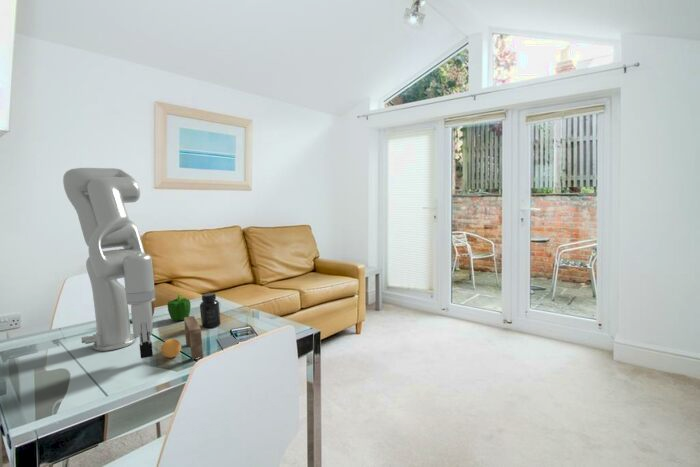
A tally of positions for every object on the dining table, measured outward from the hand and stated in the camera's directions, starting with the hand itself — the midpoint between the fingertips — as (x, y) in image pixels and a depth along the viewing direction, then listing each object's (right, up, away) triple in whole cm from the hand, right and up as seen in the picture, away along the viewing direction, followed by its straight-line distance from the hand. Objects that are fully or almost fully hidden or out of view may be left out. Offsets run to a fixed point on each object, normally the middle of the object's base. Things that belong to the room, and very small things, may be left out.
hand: (146, 356), depth 116 cm
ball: (+6, +2, +2) cm, 7 cm away
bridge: (+11, 0, +7) cm, 13 cm away
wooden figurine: (-22, +2, +42) cm, 47 cm away
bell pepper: (-7, +2, +39) cm, 39 cm away
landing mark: (+24, +1, +14) cm, 27 cm away
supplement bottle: (+8, +2, +30) cm, 31 cm away
